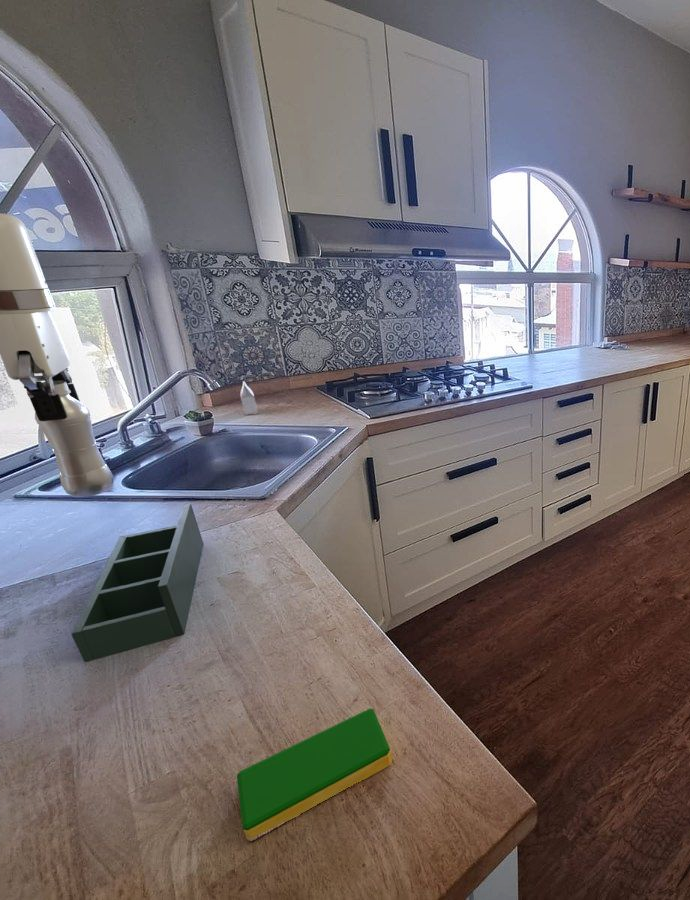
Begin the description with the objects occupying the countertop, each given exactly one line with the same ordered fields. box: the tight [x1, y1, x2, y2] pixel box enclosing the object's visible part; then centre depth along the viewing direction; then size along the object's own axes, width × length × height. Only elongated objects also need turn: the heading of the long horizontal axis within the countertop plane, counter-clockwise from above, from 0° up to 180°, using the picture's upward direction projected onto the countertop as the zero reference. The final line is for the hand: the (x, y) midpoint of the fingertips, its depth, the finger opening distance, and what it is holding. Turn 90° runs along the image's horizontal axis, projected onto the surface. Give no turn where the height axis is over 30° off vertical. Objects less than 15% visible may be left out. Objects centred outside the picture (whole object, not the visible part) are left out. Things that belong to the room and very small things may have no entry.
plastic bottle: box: [34, 381, 114, 498], centre depth 85 cm, size 6×7×20 cm
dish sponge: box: [236, 708, 393, 839], centre depth 55 cm, size 7×14×2 cm, turn 128°
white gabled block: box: [239, 380, 259, 416], centre depth 169 cm, size 4×7×10 cm, turn 35°
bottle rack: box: [71, 502, 204, 663], centre depth 81 cm, size 11×28×9 cm, turn 31°
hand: (61, 412), depth 83 cm, fingers closed on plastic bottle, 6 cm apart
